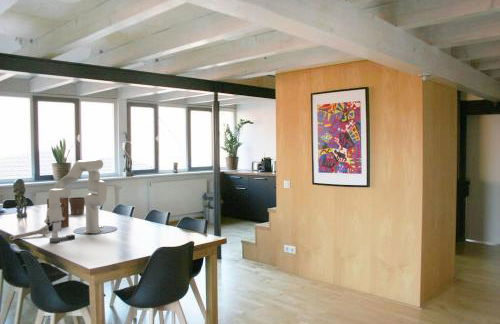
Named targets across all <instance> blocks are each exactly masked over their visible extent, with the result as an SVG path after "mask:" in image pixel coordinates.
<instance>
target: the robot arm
mask: <svg viewBox="0 0 500 324" xmlns="http://www.w3.org/2000/svg"><path fill="white" fill-rule="evenodd" d="M103 167H104V162H103V160H102V159H100V158H85V159H84V160H83V159H82V160H81V159H80V160H76V161H75V162H74V164H73V165H72V166H71V168H70V169H69V171H68V173H67V174H66V175H65V176H63V177H62V178H60V179H59V180H58V181H56V183H55V184H54V186H53V188H50V189H49V190H48V199H49V208H48V209H47V208H46V209H47V210H46V218H45V219H44V221H43V222H44V224H46V225H48V228H47V230H48V231H52V226H51V225H52V222H54V221H58V222H61V224H62V222H63V220H64V219H65V218H64V217H63V216H62V210H61V207H60V205H61V204H60V198H67V197H68V198H70V196H71V195H72V192H71V189H70V188H67V187H66V186H68V185H70V184H73V183H75V182H77V181H78V180H79V178H80V177H81V175H82V174H83V173H84V172H87V173H88V180H87V190H88V191H89V192H91V193H88V194H85V197H84V198H85V205H84V206H85V221H86V223H85V225H86V227H85V230H84V231H83V232H84V234H88V233H92V234H98V233H101V231H102V230H101V229H104V228H105V227H104V225H99V224H100V223H99V219H100V217H99V207H102V206H105V204H106V202H107V193H108V185H107V181H104V180H100V176H101V175H100V171H99V170H101V169H103ZM92 192H93V193H92ZM98 206H99V207H98ZM47 221H49V222H47Z"/></svg>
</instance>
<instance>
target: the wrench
mask: <svg viewBox="0 0 500 324" xmlns="http://www.w3.org/2000/svg"><path fill="white" fill-rule="evenodd" d="M49 234H52V232H49V230H48V225H47V224H46V225H44V226H42V227H41V228H40V229H37V230H33V231H28V232H23V233H19V234H14V235H11V236H9V241H15V240H17V239H23V238H27V237H31V236H34V235H42V236H43V237H44V236H46V235H49ZM11 238H12V239H11Z"/></svg>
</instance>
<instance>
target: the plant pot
mask: <svg viewBox="0 0 500 324" xmlns="http://www.w3.org/2000/svg"><path fill="white" fill-rule="evenodd" d="M68 203H69V206H70V207H69V208H70V215H75V216H76V215H77V216H79V215H84V213H85V206H86V205H85V197H81V196H77V197H76V196H75V197H68Z"/></svg>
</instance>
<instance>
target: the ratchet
mask: <svg viewBox="0 0 500 324" xmlns="http://www.w3.org/2000/svg"><path fill="white" fill-rule="evenodd" d="M74 239H76V234H67V235H65V236H61V237H60V236H59V231H58V232H51V237H50V238H49V243H50V244H58V243H61V242H65V240H66V241H70V240H71V241H72V240H74ZM60 241H61V242H60Z"/></svg>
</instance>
